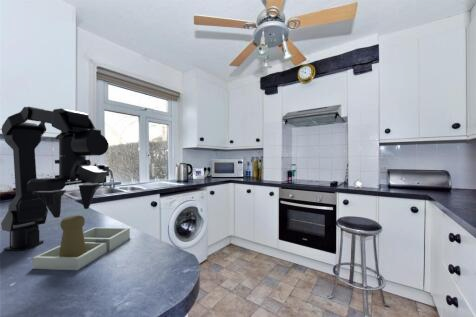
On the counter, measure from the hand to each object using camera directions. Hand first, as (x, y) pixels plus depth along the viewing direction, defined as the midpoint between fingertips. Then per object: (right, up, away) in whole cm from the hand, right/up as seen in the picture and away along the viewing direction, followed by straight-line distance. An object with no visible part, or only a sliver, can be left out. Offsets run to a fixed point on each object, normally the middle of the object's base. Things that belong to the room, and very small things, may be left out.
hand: (72, 212), depth 56 cm
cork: (0, -12, 0) cm, 12 cm away
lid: (0, -13, 0) cm, 13 cm away
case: (+1, -13, +11) cm, 17 cm away
